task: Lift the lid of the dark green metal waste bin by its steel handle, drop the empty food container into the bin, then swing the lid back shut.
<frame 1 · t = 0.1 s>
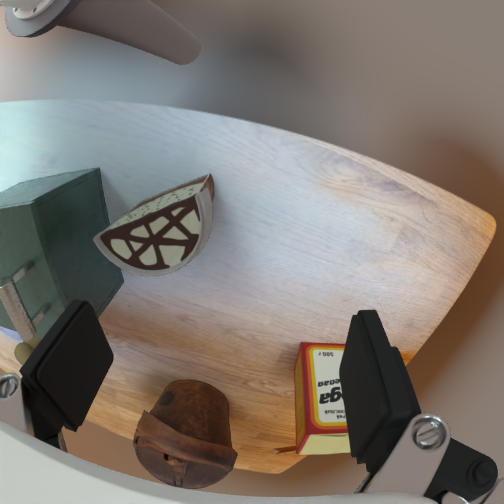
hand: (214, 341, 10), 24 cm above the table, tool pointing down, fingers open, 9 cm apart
olive pawn figure: (50, 324, 46), on the table
baking soda box: (326, 356, 43), on the table
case: (196, 396, 51), on the table
waste bin: (66, 230, 35), on the table
food container: (184, 210, 33), on the table
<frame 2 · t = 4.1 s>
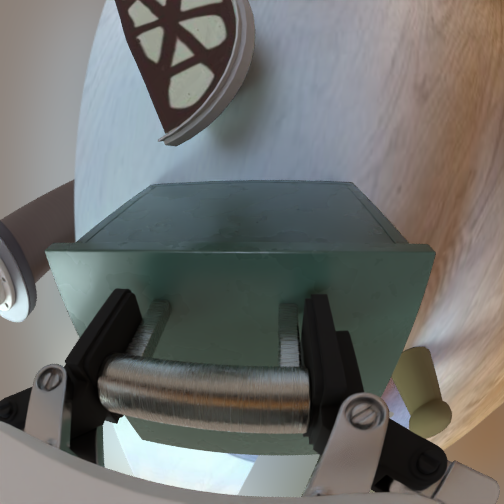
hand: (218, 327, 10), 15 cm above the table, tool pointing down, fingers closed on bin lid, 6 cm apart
olive pawn figure: (409, 361, 31), on the table
bin lid: (229, 431, 12), point 16 cm above the table, hinge at 0.0°, touching gripper
waste bin: (251, 271, 26), on the table
food container: (218, 50, 18), on the table
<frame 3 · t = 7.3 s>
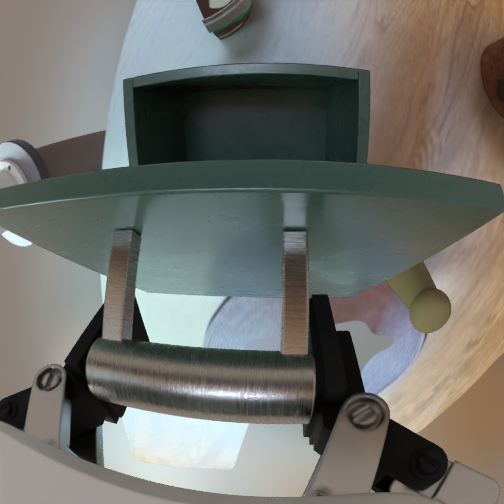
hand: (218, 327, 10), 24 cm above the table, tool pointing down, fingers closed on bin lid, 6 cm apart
olive pawn figure: (403, 268, 36), on the table
bin lid: (230, 320, 14), point 21 cm above the table, hinge at 46.7°, touching gripper
waste bin: (255, 156, 31), on the table
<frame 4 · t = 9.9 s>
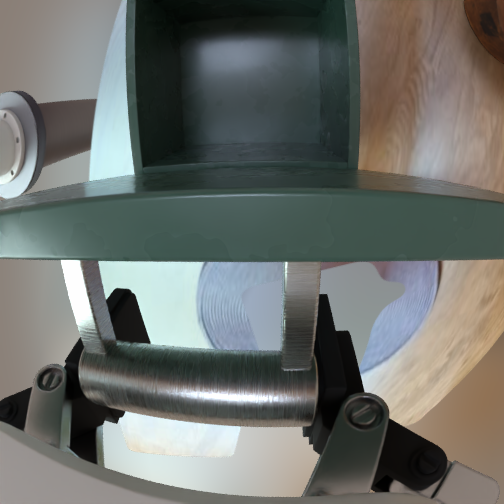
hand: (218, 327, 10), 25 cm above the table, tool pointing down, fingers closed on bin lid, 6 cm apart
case: (492, 25, 19), on the table
bin lid: (224, 243, 12), point 22 cm above the table, hinge at 79.6°, touching gripper
waste bin: (249, 77, 27), on the table
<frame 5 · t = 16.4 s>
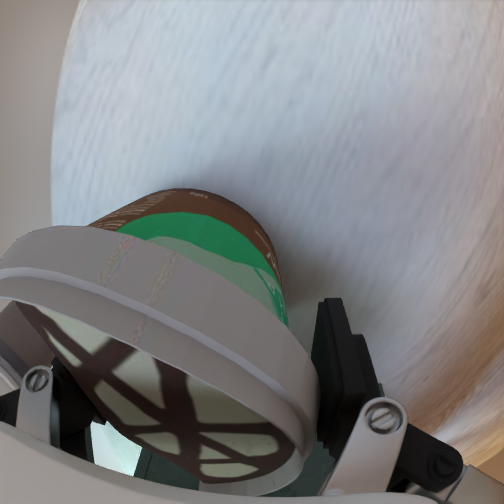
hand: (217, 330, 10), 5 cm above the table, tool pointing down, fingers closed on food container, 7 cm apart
waste bin: (270, 435, 23), on the table
food container: (238, 257, 15), on the table, touching gripper
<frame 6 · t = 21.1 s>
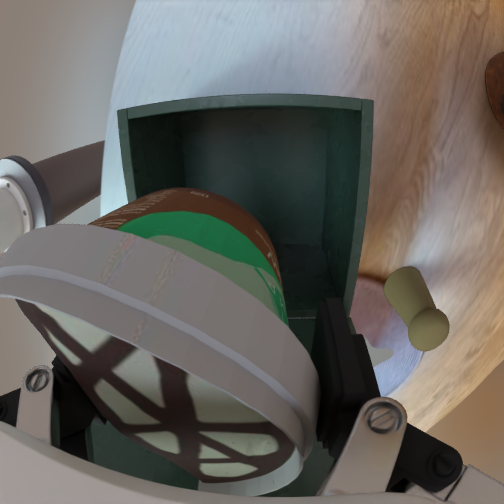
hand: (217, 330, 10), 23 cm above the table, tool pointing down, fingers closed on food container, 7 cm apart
olive pawn figure: (403, 284, 36), on the table
bin lid: (237, 430, 16), point 22 cm above the table, hinge at 84.9°
waste bin: (255, 177, 31), on the table
food container: (238, 257, 15), point 18 cm above the table, touching gripper
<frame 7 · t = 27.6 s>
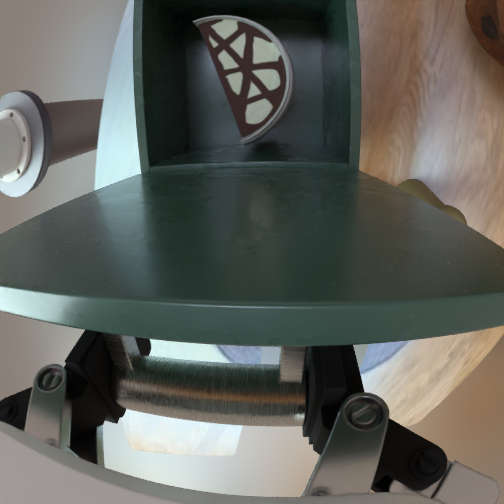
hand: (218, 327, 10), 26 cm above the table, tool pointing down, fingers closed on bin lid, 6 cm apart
olive pawn figure: (410, 201, 33), on the table
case: (493, 27, 19), on the table
bin lid: (230, 255, 13), point 22 cm above the table, hinge at 84.9°, touching gripper
waste bin: (254, 79, 28), on the table
food container: (259, 79, 28), point 1 cm above the table, touching waste bin
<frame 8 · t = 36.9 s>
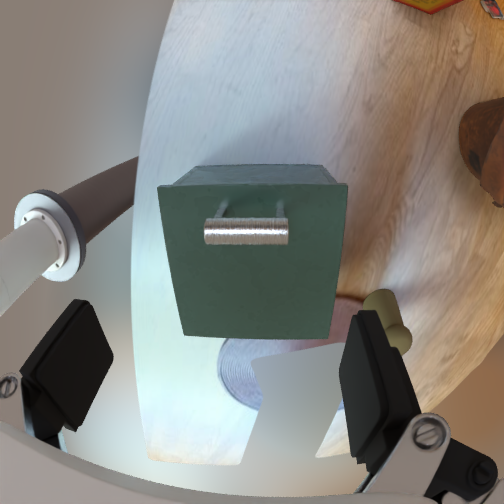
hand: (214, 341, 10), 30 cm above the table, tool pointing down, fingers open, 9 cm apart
olive pawn figure: (379, 303, 45), on the table
matchbox: (490, 7, 19), on the table
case: (484, 140, 31), on the table
bin lid: (251, 286, 26), point 16 cm above the table, hinge at -0.2°, touching waste bin
waste bin: (259, 223, 40), on the table
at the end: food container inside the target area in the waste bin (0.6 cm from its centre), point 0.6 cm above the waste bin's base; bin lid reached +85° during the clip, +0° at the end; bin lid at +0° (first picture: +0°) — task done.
